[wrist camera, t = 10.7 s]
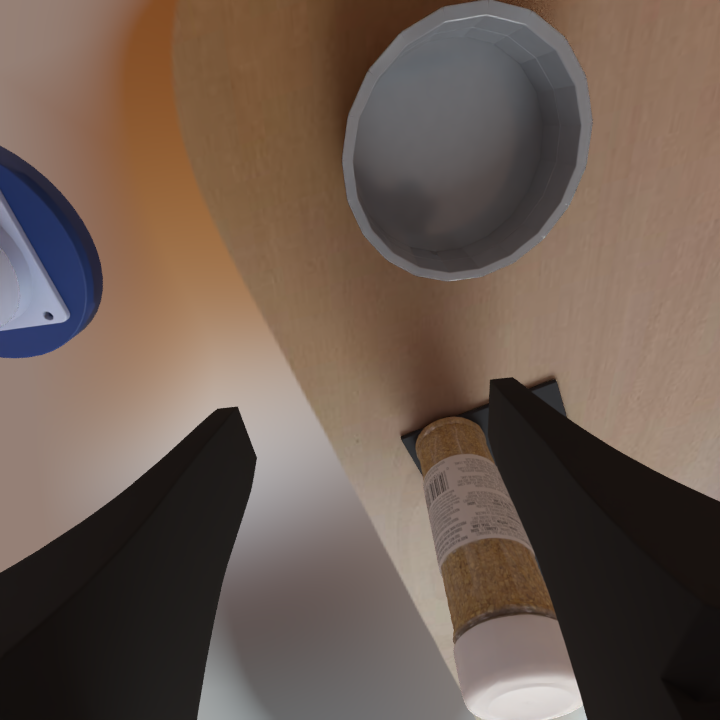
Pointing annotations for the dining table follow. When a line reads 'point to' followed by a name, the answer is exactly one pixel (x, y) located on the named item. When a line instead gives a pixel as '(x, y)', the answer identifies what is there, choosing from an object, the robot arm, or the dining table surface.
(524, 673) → the sprinkles bottle
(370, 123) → the basin
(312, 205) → the dining table surface
